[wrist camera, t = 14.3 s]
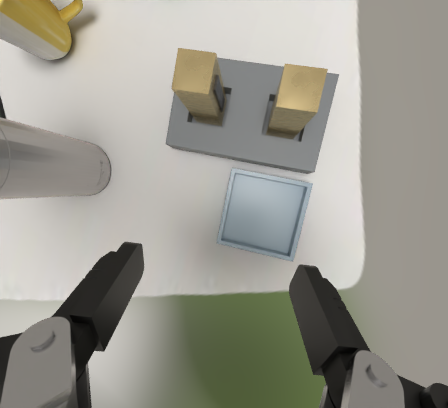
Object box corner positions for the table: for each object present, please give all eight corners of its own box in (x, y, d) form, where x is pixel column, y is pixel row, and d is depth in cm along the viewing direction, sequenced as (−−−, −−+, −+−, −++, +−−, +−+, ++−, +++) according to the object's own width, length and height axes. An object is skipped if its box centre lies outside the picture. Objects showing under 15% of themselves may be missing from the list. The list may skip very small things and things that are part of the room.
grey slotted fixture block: (173, 148, 31) (165, 143, 28) (187, 66, 30) (180, 52, 27) (307, 173, 29) (314, 172, 26) (329, 86, 28) (339, 74, 25)
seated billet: (196, 121, 30) (171, 88, 20) (201, 95, 29) (178, 47, 19) (223, 126, 29) (210, 94, 19) (228, 99, 29) (218, 53, 19)
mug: (38, 79, 33) (-57, 29, 23) (26, 18, 33) (-77, -61, 22) (107, 61, 32) (39, -1, 21) (96, -4, 31) (20, -100, 21)
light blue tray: (218, 239, 32) (216, 243, 30) (233, 169, 30) (231, 167, 28) (290, 256, 31) (293, 261, 29) (308, 183, 29) (312, 183, 27)
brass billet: (265, 134, 28) (275, 106, 19) (271, 107, 28) (285, 63, 18) (294, 139, 28) (319, 113, 18) (300, 112, 28) (330, 69, 18)
